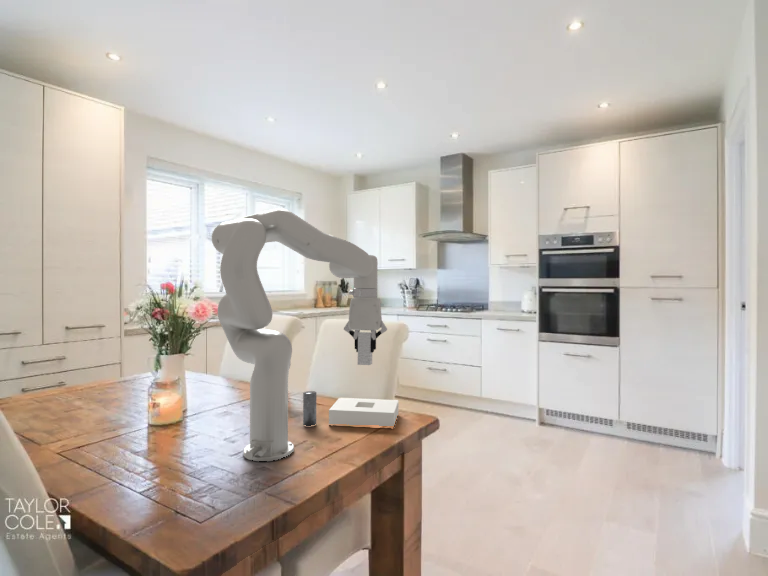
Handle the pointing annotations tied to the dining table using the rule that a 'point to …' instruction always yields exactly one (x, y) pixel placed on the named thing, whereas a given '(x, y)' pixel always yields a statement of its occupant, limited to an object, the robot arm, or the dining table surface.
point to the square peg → (364, 348)
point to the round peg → (309, 408)
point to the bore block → (364, 412)
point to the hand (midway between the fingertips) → (365, 351)
